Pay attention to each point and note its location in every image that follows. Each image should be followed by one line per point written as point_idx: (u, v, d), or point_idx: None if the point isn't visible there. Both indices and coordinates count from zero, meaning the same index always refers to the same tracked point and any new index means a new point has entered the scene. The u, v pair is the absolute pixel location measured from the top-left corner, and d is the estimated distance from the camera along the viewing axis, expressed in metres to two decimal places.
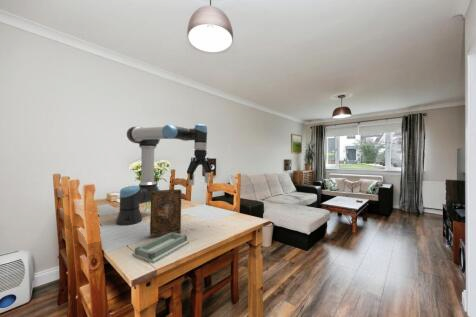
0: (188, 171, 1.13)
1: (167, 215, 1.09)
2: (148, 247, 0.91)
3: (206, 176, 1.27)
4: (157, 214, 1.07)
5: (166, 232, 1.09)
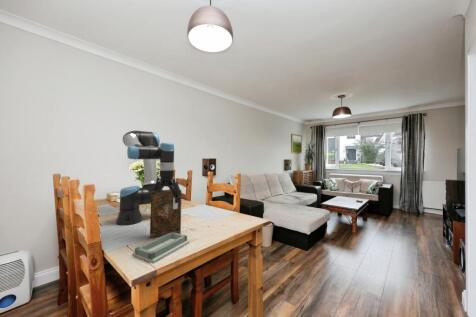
0: None
1: (167, 215, 1.09)
2: (148, 247, 0.91)
3: None
4: (157, 214, 1.07)
5: (166, 232, 1.09)
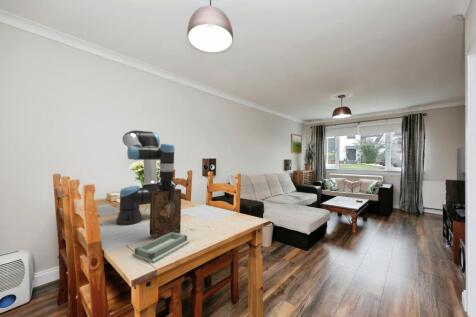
0: None
1: (169, 214, 1.10)
2: (148, 247, 0.91)
3: None
4: (159, 214, 1.07)
5: (168, 231, 1.10)
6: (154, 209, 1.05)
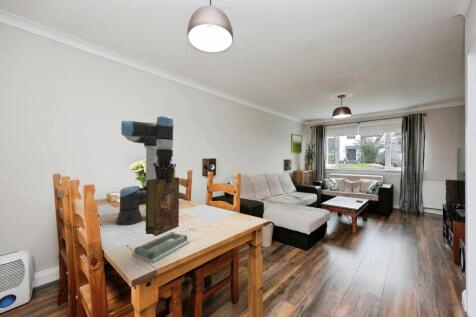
0: None
1: (169, 206, 0.94)
2: (148, 247, 0.91)
3: None
4: (160, 206, 0.90)
5: (168, 226, 0.94)
6: (155, 201, 0.87)
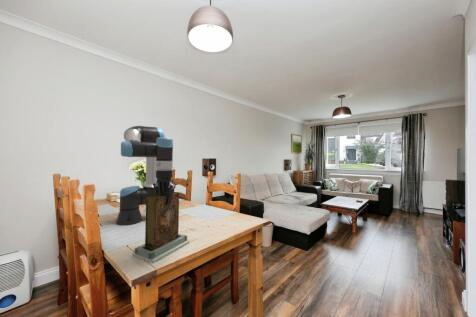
0: None
1: (169, 223, 0.94)
2: None
3: None
4: (160, 224, 0.89)
5: None
6: (155, 218, 0.87)
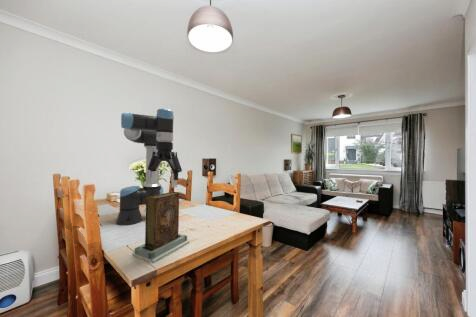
0: None
1: (169, 223, 0.94)
2: None
3: None
4: (160, 224, 0.89)
5: None
6: (155, 218, 0.87)
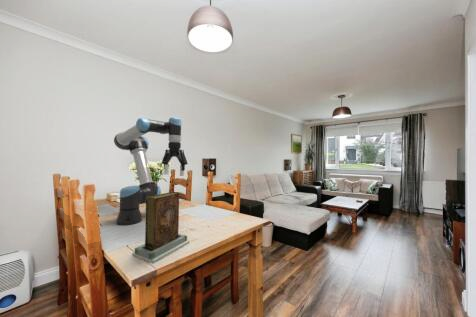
0: None
1: (169, 223, 0.94)
2: None
3: None
4: (160, 224, 0.89)
5: None
6: (155, 218, 0.87)
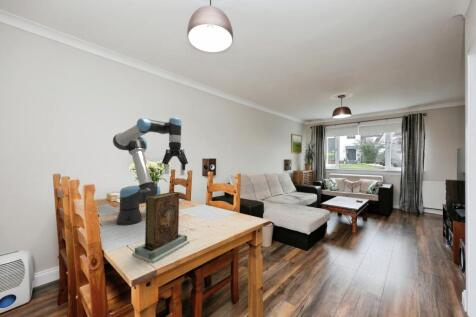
0: None
1: (169, 223, 0.94)
2: None
3: None
4: (160, 224, 0.89)
5: None
6: (155, 218, 0.87)
